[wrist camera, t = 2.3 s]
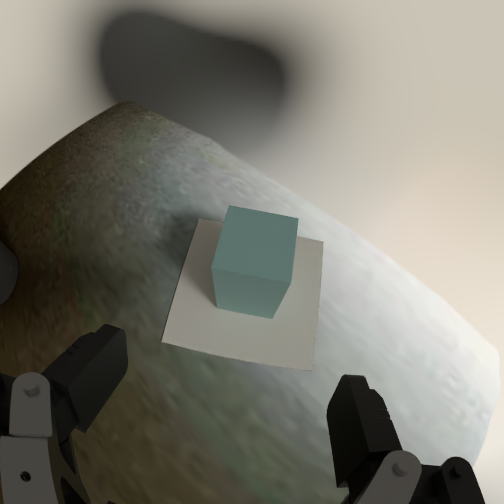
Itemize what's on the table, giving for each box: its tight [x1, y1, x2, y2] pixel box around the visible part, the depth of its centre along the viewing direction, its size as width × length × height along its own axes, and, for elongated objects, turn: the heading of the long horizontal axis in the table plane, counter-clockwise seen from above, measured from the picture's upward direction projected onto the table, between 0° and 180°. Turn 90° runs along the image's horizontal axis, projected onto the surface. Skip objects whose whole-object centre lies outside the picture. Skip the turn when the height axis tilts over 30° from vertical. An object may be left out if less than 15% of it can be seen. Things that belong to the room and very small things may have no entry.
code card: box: [161, 218, 323, 371], centre depth 31 cm, size 16×16×1 cm
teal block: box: [211, 206, 298, 319], centre depth 26 cm, size 6×6×10 cm
